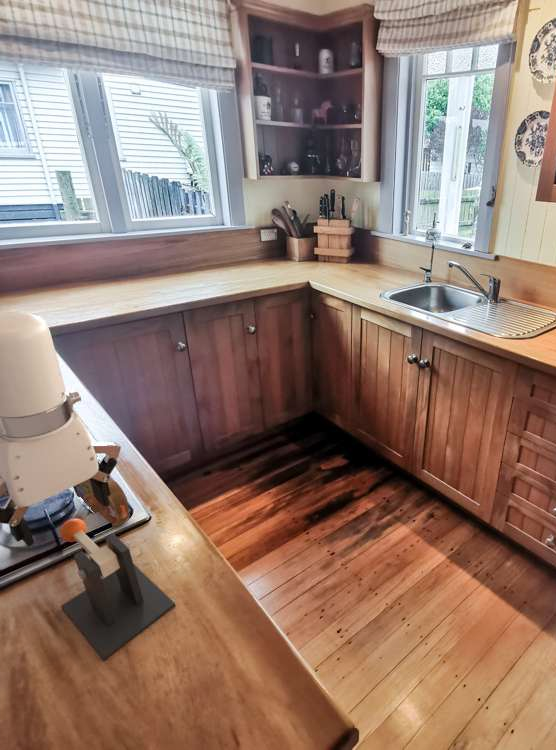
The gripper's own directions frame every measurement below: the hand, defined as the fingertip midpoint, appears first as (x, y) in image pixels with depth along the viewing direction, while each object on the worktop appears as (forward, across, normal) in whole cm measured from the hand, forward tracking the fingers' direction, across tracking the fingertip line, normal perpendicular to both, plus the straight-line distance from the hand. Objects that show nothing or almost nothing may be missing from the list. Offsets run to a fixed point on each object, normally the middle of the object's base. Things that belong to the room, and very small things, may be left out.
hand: (66, 520), depth 64 cm
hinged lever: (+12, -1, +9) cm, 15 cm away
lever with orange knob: (+4, -1, +4) cm, 6 cm away
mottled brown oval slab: (+13, -9, -13) cm, 20 cm away
